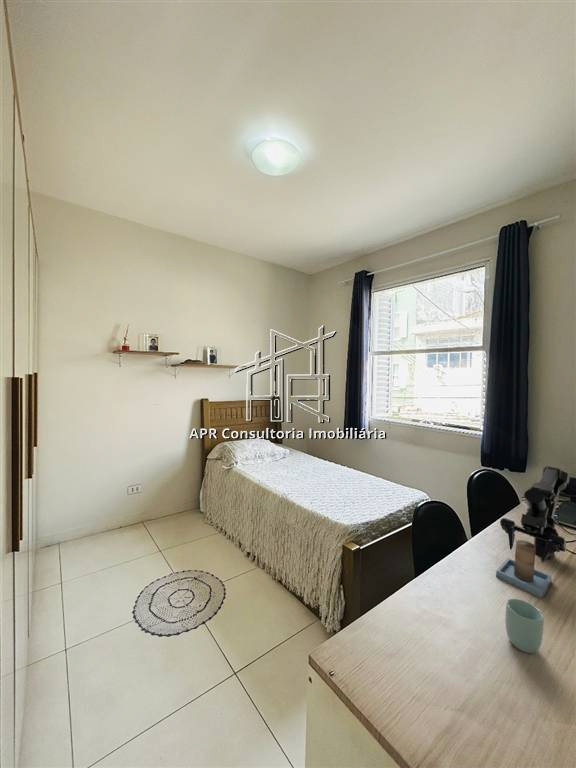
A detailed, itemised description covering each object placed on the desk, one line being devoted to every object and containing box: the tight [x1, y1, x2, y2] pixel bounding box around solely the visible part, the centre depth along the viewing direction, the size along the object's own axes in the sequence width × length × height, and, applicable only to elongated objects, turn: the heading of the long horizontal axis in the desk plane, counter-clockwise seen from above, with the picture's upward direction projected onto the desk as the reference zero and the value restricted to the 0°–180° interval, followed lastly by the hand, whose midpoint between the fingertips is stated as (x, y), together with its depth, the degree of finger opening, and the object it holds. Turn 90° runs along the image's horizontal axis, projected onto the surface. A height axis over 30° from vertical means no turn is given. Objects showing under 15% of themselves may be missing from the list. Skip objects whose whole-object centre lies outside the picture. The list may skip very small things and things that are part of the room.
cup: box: [505, 598, 545, 654], centre depth 81 cm, size 8×8×10 cm
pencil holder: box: [514, 539, 536, 582], centre depth 109 cm, size 6×6×12 cm
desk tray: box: [495, 557, 553, 599], centre depth 109 cm, size 13×13×2 cm
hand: (525, 555), depth 109 cm, fingers open, 9 cm apart
